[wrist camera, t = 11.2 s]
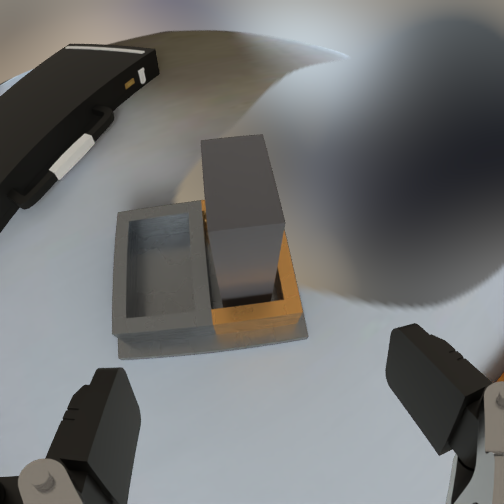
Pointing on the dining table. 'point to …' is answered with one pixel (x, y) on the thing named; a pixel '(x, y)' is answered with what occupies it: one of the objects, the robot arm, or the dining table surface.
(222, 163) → the grey rectangular block
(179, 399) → the dining table surface
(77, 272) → the dining table surface
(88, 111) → the briefcase
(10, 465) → the dining table surface
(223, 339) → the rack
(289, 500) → the dining table surface
